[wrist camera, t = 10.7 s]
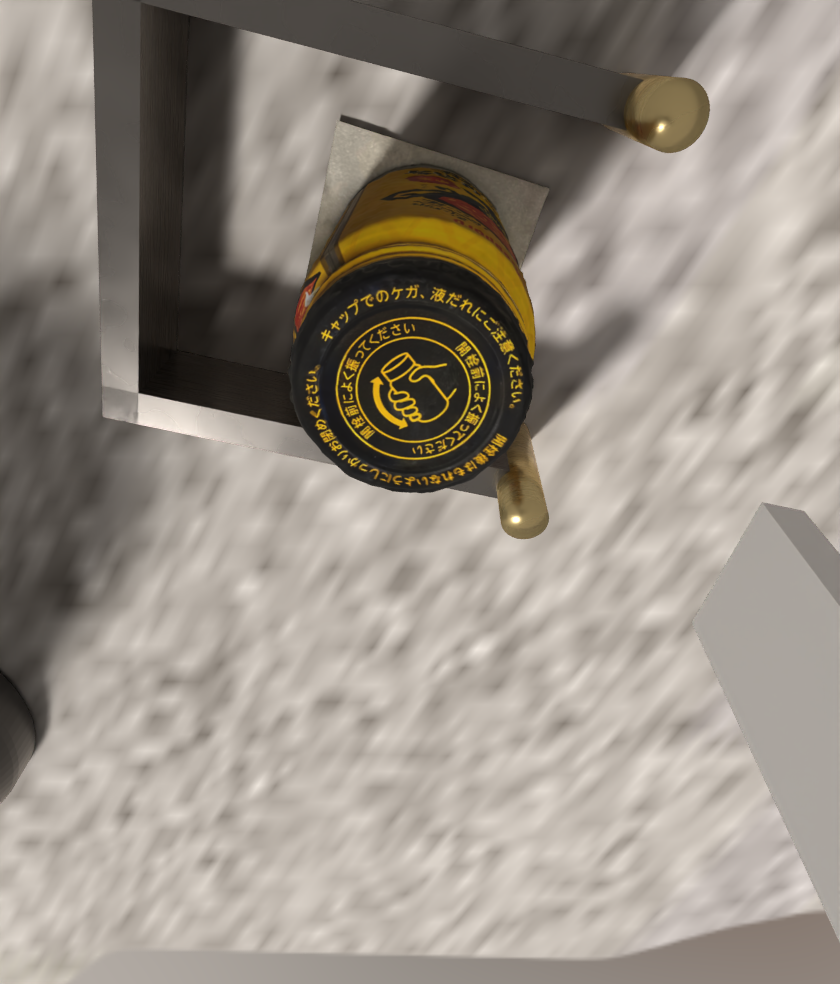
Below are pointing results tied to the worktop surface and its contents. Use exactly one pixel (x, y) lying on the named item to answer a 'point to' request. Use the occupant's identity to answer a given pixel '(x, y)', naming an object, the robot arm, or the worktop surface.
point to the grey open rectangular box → (159, 188)
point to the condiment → (415, 314)
